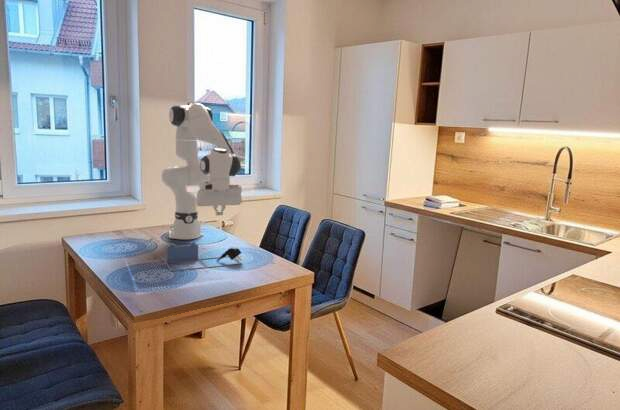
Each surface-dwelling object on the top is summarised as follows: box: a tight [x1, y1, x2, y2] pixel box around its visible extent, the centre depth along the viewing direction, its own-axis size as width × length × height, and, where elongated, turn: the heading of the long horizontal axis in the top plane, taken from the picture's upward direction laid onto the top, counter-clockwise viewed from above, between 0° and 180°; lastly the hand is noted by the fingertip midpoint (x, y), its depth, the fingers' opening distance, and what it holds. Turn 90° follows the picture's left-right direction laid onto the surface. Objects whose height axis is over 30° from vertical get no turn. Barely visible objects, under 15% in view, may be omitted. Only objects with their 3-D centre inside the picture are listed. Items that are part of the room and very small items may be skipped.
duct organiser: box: [164, 241, 243, 272], centre depth 202 cm, size 15×32×8 cm, turn 118°
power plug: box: [216, 246, 243, 263], centre depth 204 cm, size 6×8×12 cm
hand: (219, 215), depth 202 cm, fingers closed
